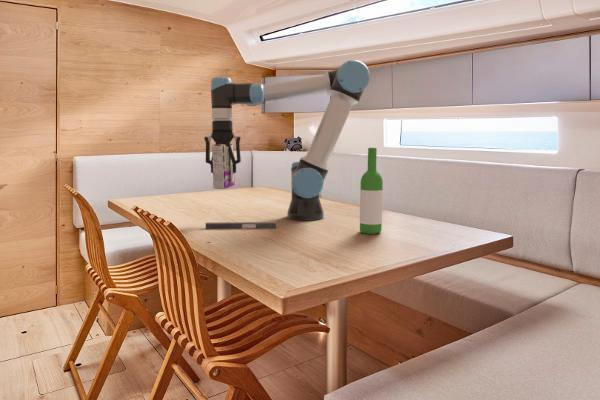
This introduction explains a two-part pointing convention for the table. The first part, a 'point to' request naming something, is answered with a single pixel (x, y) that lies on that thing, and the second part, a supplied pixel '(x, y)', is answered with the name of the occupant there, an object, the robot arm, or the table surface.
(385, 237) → the table surface
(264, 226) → the price rail
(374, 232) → the wine bottle
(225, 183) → the candy bar box
